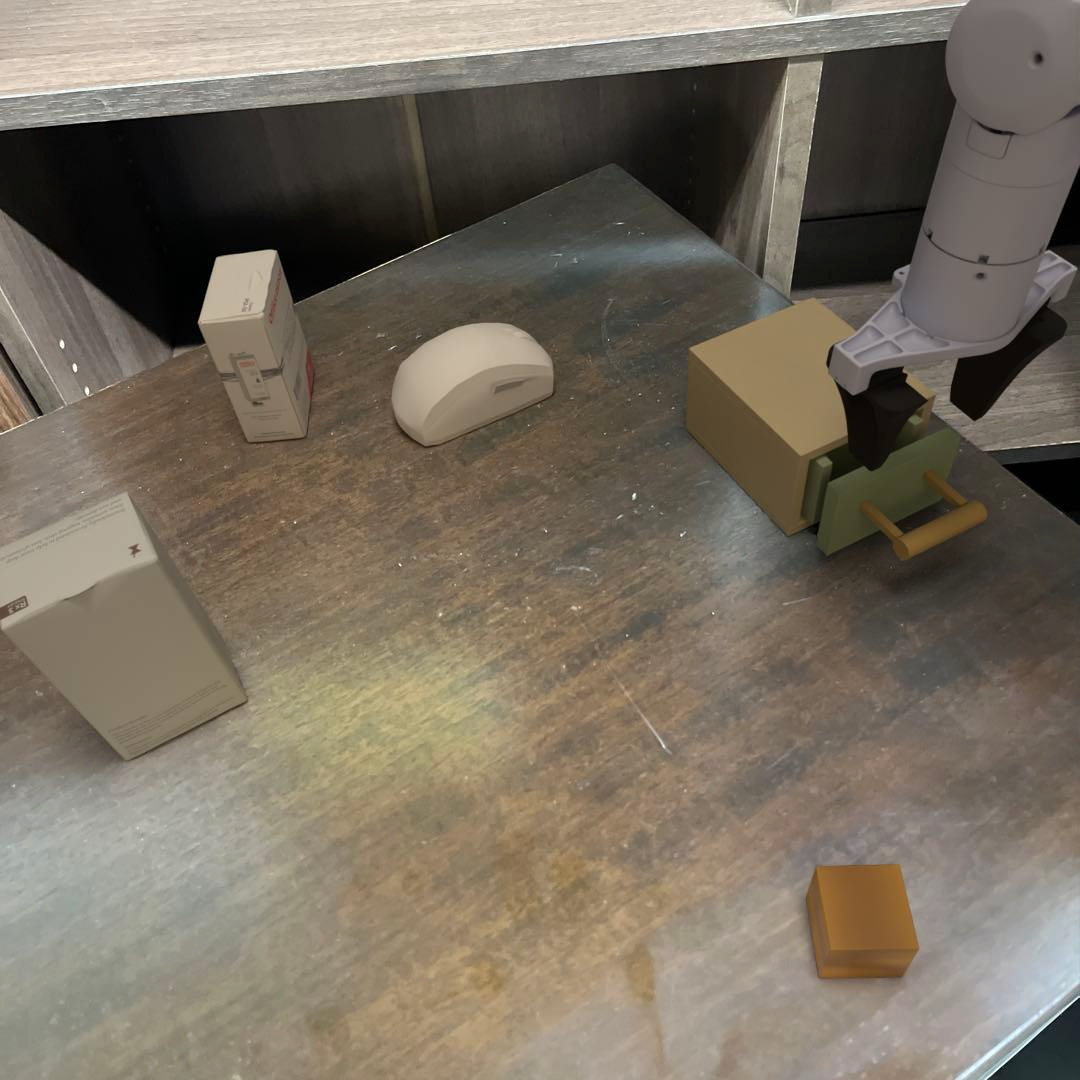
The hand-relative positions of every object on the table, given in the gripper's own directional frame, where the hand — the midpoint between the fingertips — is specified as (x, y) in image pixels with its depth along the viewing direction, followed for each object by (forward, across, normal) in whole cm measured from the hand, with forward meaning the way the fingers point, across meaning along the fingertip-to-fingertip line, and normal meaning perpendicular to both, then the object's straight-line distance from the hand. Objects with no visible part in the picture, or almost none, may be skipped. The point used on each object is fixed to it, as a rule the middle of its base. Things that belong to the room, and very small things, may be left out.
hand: (915, 433), depth 57 cm
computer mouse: (+12, +16, -28) cm, 35 cm away
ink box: (+12, +29, -36) cm, 48 cm away
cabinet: (+11, -1, -10) cm, 15 cm away
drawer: (+10, -1, -4) cm, 10 cm away
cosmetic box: (+12, +45, -13) cm, 48 cm away
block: (+10, +18, +19) cm, 28 cm away
